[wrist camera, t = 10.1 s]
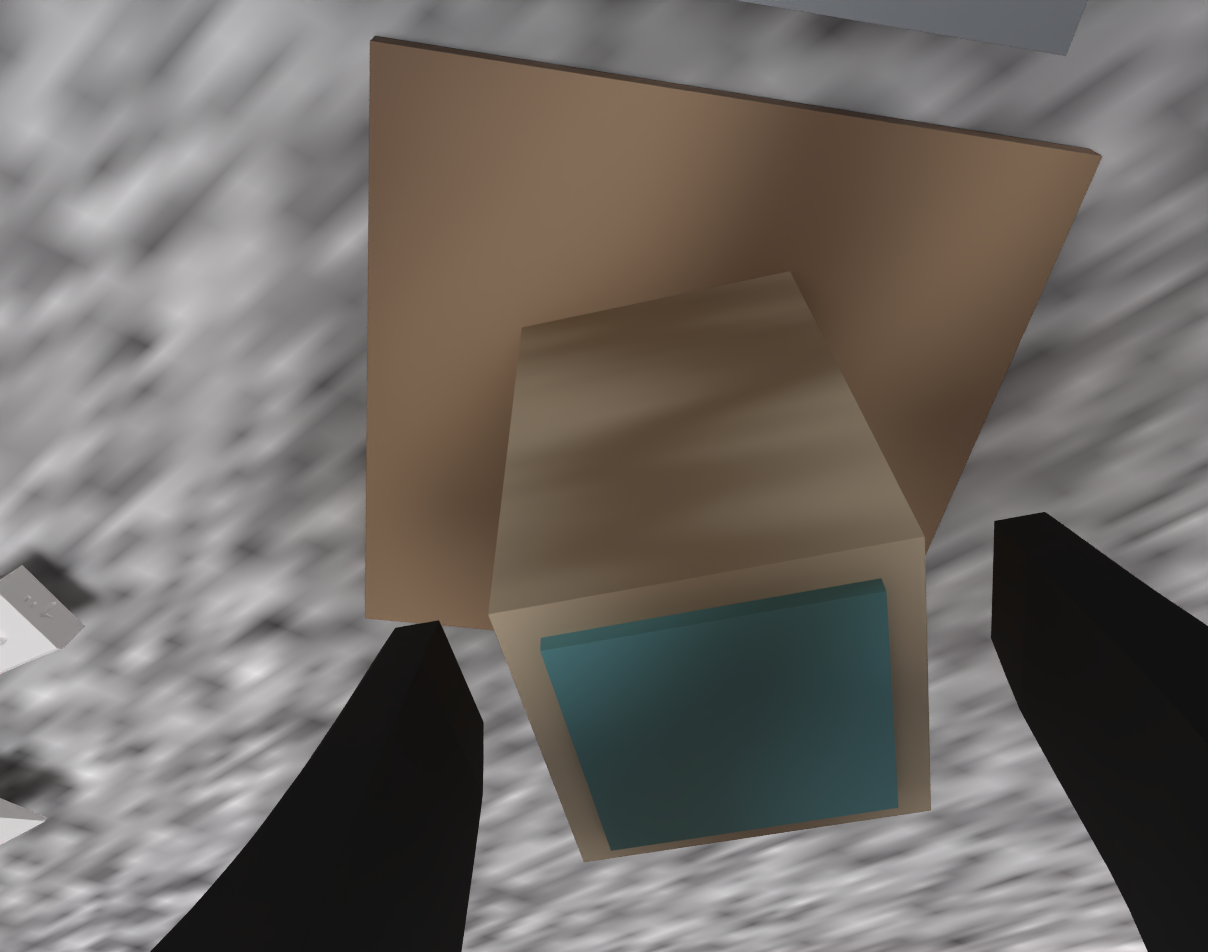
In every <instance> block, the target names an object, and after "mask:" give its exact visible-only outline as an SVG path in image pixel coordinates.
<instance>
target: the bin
mask: <svg viewBox="0 0 1208 952" xmlns="http://www.w3.org/2000/svg"><path fill="white" fill-rule="evenodd" d="M738 1H743V2H749V3H755V4H761V5H767V6H773V7H779V8H785V9H791V10H797V11H803V12H809V13H815V14H820V15H826V16H832V17H838V18H844V19H850V20H856V21H862V22H868V23H874V24H880V25H886V26H892V27H897V28H903V29H909V30H915V31H921V32H927V33H933V34H939V35H945V36H951V37H957V38H963V39H969V40H974V41H980V42H986V43H992V44H998V45H1004V46H1010V47H1016V48H1022V49H1028V50H1034V51H1040V52H1046V53H1052V54H1057V55H1063V56H1066V54H1067V51H1068V49H1069V46H1070V44H1071V41H1072V39H1073V36H1074V34H1075V31H1076V29H1077V26H1078V24H1079V21H1080V19H1081V16H1082V14H1083V11H1084V9H1085V6H1086V4H1087V1H1088V0H738Z"/></svg>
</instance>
